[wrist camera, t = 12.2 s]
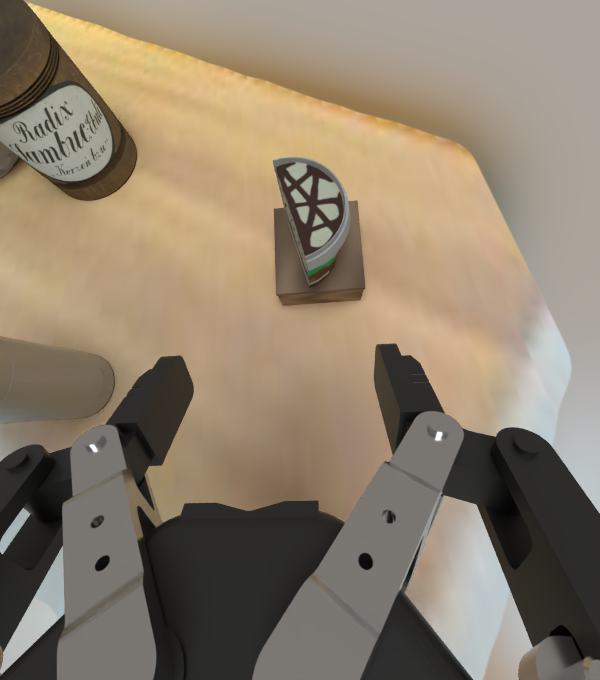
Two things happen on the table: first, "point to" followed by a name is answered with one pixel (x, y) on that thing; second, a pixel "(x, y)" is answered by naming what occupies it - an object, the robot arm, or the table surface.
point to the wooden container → (57, 111)
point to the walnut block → (341, 280)
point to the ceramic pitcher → (6, 159)
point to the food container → (314, 213)
